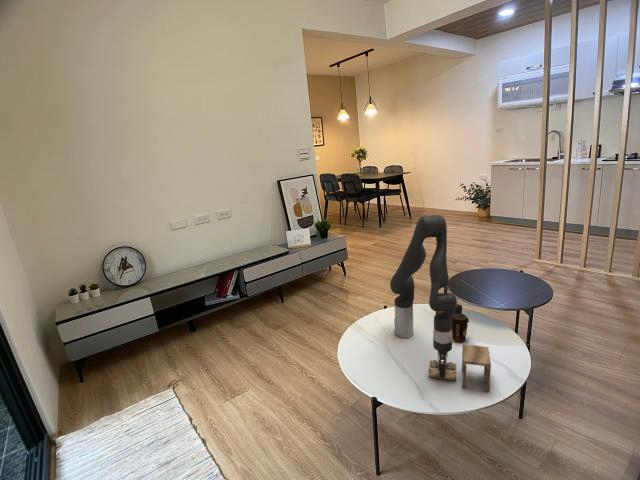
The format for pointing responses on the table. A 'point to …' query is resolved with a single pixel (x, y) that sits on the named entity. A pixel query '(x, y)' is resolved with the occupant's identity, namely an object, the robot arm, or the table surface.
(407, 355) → the table surface
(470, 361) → the wooden stool
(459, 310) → the radio
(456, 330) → the coffee cup
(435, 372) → the tray
